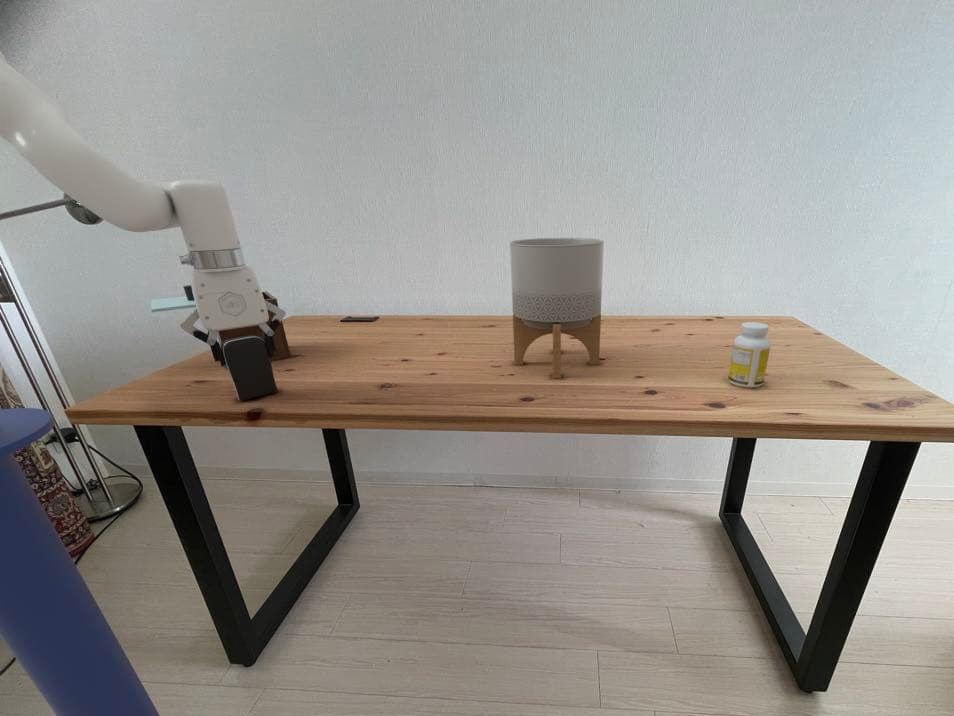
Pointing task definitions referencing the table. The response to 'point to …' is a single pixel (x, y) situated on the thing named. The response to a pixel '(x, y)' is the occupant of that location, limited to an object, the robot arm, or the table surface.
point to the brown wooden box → (278, 335)
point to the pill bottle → (750, 355)
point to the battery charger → (249, 367)
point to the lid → (174, 302)
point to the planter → (556, 293)
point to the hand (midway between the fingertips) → (247, 359)
